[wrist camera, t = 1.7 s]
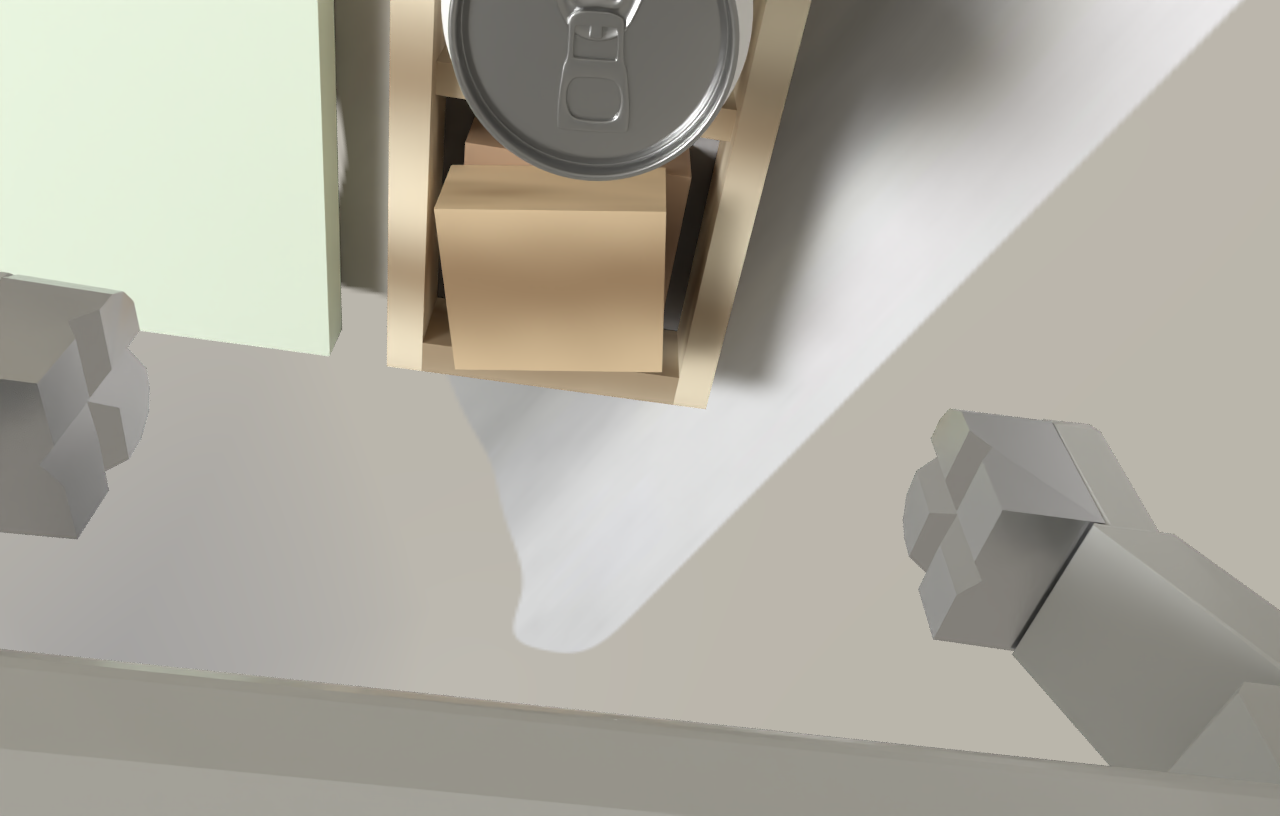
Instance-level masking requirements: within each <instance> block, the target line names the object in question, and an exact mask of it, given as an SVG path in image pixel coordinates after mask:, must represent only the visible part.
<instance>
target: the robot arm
mask: <svg viewBox="0 0 1280 816" xmlns="http://www.w3.org/2000/svg"><path fill="white" fill-rule="evenodd" d="M139 331H140V328H139V323H138V318H137V314H136V309H135V304H134V301H133V300H132V299H131V298H130V297H129V296H128V295H127V294H126V293H125V292H124V291H118V290H112V289H106V288H100V287H93V286H87V285H81V284H75V283H68V282H62V281H56V280H50V279H44V278H37V277H31V276H25V275H19V274H17V275H13V274H10V273H6V272H0V532H4V533H14V534H25V535H36V536H47V537H58V538H69V539H78V537H79V536H80V534H81V533H82V531H83V530H84V528H85V527H86V525H87V524H88V522H89V521H90V519H91V517H92V516H93V514H94V513H95V511H96V510H97V508H98V507H99V505H100V503H101V502H102V500H103V499H104V497H105V496H106V494H107V493H108V491H109V488H108V483H107V478H106V473H105V471H107V470H109V469H111V468H113V467H114V466H116V465H118V464H120V463H122V462H124V461H126V460H128V459H129V458H130V457H131V455H132V453H133V452H134V450H135V448H136V446H137V445H138V443H139V442H140V440H141V438H142V434H143V431H144V427H145V424H146V420H147V417H148V413H149V392H150V388H149V381H148V375H147V368H146V367H145V366H144V365H143V364H142V363H141V362H140V361H139V359H138V358H137V357H136V356H135V355H134V354H133V353H132V352H131V351H130V350H129V349H128V346H129V345H130V343H131V342H132V341H133V339H134V338H135V336H136V335H137V334H138V332H139ZM931 441H932V443H933V446H934V449H935V452H936V455H937V457H936V458H935V459H933V460H932V461H930V462H929V463H927V464H926V465H924V466H923V467H921V468H920V469H918V470H917V471H916V473H915V475H914V478H913V480H912V483H911V485H910V488H909V490H908V493H907V496H906V502H905V509H904V516H903V527H904V539H905V542H906V547H907V550H908V554H909V557H910V558H911V559H912V560H913V561H914V562H915V563H916V564H918V565H919V566H920V567H921V568H922V569H923V570H924V571H925V572H926V574H925V576H924V578H923V581H922V583H921V585H920V587H919V592H920V596H921V600H922V603H923V606H924V610H925V613H926V616H927V620H928V623H929V627H930V630H931V633H932V637H933V639H934V640H941V641H949V642H956V643H962V644H969V645H976V646H983V647H990V648H997V649H1004V650H1011V651H1014V652H1013V654H1012V655H1013V656H1014V657H1015V658H1016V659H1017V660H1018V662H1019V663H1020V664H1021V665H1022V666H1023V667H1024V668H1025V669H1026V671H1027V672H1028V673H1029V674H1030V675H1031V676H1032V678H1033V679H1034V680H1035V681H1036V682H1037V683H1038V684H1039V686H1040V687H1041V688H1042V689H1043V690H1044V691H1045V692H1046V694H1047V695H1048V696H1049V697H1050V698H1051V699H1052V700H1053V702H1054V703H1055V704H1056V705H1057V706H1058V707H1059V708H1060V710H1061V711H1062V712H1063V713H1064V714H1065V715H1066V716H1067V718H1068V719H1069V720H1070V721H1071V722H1072V723H1073V724H1074V725H1075V727H1076V728H1077V729H1078V730H1079V731H1080V732H1081V733H1082V735H1083V736H1084V737H1085V738H1086V739H1087V740H1088V742H1089V743H1090V744H1091V745H1092V746H1093V747H1094V748H1095V750H1096V751H1097V752H1098V753H1099V754H1100V755H1101V756H1102V757H1103V759H1104V760H1105V761H1106V762H1107V763H1108V764H1109V766H1104V765H1094V764H1085V763H1075V762H1065V761H1056V760H1047V759H1038V758H1028V757H1019V756H1010V755H1000V754H991V753H980V752H971V751H962V750H953V749H943V748H934V747H923V746H915V745H906V744H896V743H887V742H877V741H868V740H859V739H849V738H840V737H831V736H820V735H812V734H802V733H793V732H783V731H773V730H765V729H755V728H746V727H736V726H727V725H718V724H707V723H699V722H689V721H680V720H670V719H661V718H652V717H642V716H633V715H624V714H614V713H605V712H596V711H586V710H576V709H568V708H558V707H549V706H539V705H530V704H520V703H512V702H501V701H493V700H483V699H474V698H464V697H454V696H446V695H436V694H427V693H418V692H409V691H399V690H390V689H380V688H371V687H362V686H352V685H342V684H333V683H322V682H312V681H303V680H294V679H284V678H274V677H265V676H255V675H246V674H237V673H226V672H217V671H208V670H198V669H189V668H179V667H169V666H159V665H150V664H139V663H131V662H120V661H112V660H102V659H93V658H82V657H73V656H63V655H54V654H45V653H35V652H26V651H16V650H7V649H0V816H1280V610H1279V609H1277V608H1276V607H1274V606H1273V605H1272V604H1270V603H1269V602H1268V601H1266V600H1265V599H1263V598H1262V597H1261V596H1259V595H1258V594H1257V593H1255V592H1254V591H1252V590H1251V589H1250V588H1248V587H1247V586H1245V585H1244V584H1243V583H1241V582H1240V581H1238V580H1237V579H1236V578H1234V577H1233V576H1232V575H1230V574H1229V573H1227V572H1226V571H1225V570H1223V569H1222V568H1220V567H1219V566H1217V565H1216V564H1215V563H1213V562H1212V561H1211V560H1209V559H1208V558H1206V557H1205V556H1204V555H1202V554H1201V553H1200V552H1198V551H1197V550H1195V549H1194V548H1193V547H1191V546H1190V545H1188V544H1187V543H1186V542H1184V541H1183V540H1181V539H1180V538H1179V537H1177V536H1176V535H1175V534H1169V533H1163V532H1159V531H1158V529H1157V527H1156V525H1155V524H1154V522H1153V520H1152V519H1151V517H1150V515H1149V513H1148V512H1147V510H1146V508H1145V507H1144V505H1143V503H1142V502H1141V500H1140V498H1139V496H1138V495H1137V493H1136V491H1135V489H1134V488H1133V486H1132V484H1131V483H1130V481H1129V479H1128V477H1127V476H1126V474H1125V472H1124V471H1123V469H1122V467H1121V465H1120V464H1119V462H1118V460H1117V459H1116V457H1115V455H1114V453H1113V452H1112V450H1111V448H1110V447H1109V445H1108V443H1107V441H1106V440H1105V438H1104V436H1103V435H1102V433H1101V432H1100V431H1099V430H1097V429H1096V428H1094V427H1093V426H1092V425H1090V424H1082V423H1073V422H1063V421H1053V420H1036V419H1028V418H1020V417H1012V416H1004V415H996V414H988V413H981V412H973V411H965V410H956V409H949V410H948V411H947V412H946V413H945V414H944V416H943V417H942V418H941V419H940V420H939V422H938V424H937V427H936V429H935V431H934V433H933V435H932V437H931Z"/></svg>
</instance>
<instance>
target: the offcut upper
mask: <svg viewBox="0 0 1280 816" xmlns="http://www.w3.org/2000/svg"><path fill="white" fill-rule="evenodd" d="M434 213H435V221H436V228H437V236H438V243H439V251H440V259H441V266H442V274H443V281H444V289H445V297H446V304H447V312H448V319H449V327H450V334H451V342H452V350H453V357H454V365H455V369H460V370H531V371H602V372H662V356H663V317H664V278H665V239H666V168H661V167H659V168H656V169H654V170H652V171H649V172H647V173H644V174H641V175H637V176H634V177H630V178H625V179H619V180H610V181H586V180H577V179H571V178H567V177H562V176H559V175H555V174H552V173H549V172H547V171H544V170H542V169H539V168H537V167H535V166H502V165H451V167H450V170H449V172H448V175H447V177H446V180H445V182H444V185H443V187H442V190H441V192H440V195H439V197H438V200H437V202H436V205H435V207H434Z"/></svg>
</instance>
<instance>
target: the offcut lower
mask: <svg viewBox="0 0 1280 816" xmlns="http://www.w3.org/2000/svg"><path fill="white" fill-rule="evenodd" d="M464 165H502V166H533V165H531V164H529V163H527V162H525V161H524V160H522V159H520V158H519V157H517V156H516V155H514V154H513V153H512V152H510V151H509V150H508V149H506V148H505V147H504V146H503V145H501V144H500V143H499V142H498V141H497V140H496V139H495V138H494V137H493V136H492V135H491V134H490V133H489V132H488V131H487V130H486V128H485V127H484V126H483V125H482V124H481V122H480V121H479V120H478V118H477V117H476V116H475V117H474V120H473V123H472V125H471V128H470V131H469V134H468V136H467V139H466V142H465V155H464ZM661 168H666V239H665V278H664V307H665V302H666V297H667V292H668V288H669V283H670V278H671V273H672V269H673V264H674V259H675V254H676V250H677V245H678V240H679V235H680V230H681V226H682V221H683V216H684V211H685V207H686V202H687V197H688V192H689V188H690V183H691V178H692V177H691V165H690V152H689V148H688V149H687V150H686V151H684V152H683V153H682V154H680V155H679V156H678V157H676V158H675V159H673V160H671V161H670V162H668V163H666V164H664V165H662V166H661Z"/></svg>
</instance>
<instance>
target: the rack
mask: <svg viewBox="0 0 1280 816" xmlns="http://www.w3.org/2000/svg"><path fill="white" fill-rule="evenodd" d="M810 4H811V0H753V22H752V32H751V39H750V44H749V49H748V53H747V57H746V60H745V63H744V66H743V69H742V71H741V74H740V76H739V79H738V81H737V83H736V85H735V87H734V89H733V91H732V92H731V94H730V96H729V97H728V99H727V100H726V102H725V103H724V105H723V106H722V108H721V110H720V111H719V113H718V115H717V116H716V118H715V119H714V121H713V122H712V123H711V125H710V126H709V127H708V129H707V130H706V131H705V132H704V133H703V135H702V136H701V137H702V138H709V139H715V140H720V142H719V147H718V151H717V156H716V160H715V165H714V169H713V174H712V178H711V183H710V187H709V191H708V196H707V200H706V205H705V209H704V214H703V218H702V223H701V227H700V232H699V236H698V241H697V245H696V250H695V254H694V259H693V263H692V268H691V272H690V277H689V281H688V286H687V290H686V295H685V299H684V304H683V308H682V313H681V317H680V322H679V326H678V331H671V330H664V329H663V356H662V372H602V371H531V370H460V369H455V365H454V357H453V350H452V342H451V334H450V327H449V319H448V312H447V304H446V299H445V298H438V297H437V291H438V268H439V243H438V236H437V228H436V221H435V213H434V207H435V205H436V202H437V200H438V197H439V195H440V192H441V190H442V178H443V156H444V133H445V111H446V96H448V97H454V98H460V99H465V97H464V95H463V93H462V91H461V88H460V86H459V83H458V81H457V78H456V75H455V72H454V68H453V65H452V61H451V58H450V55H449V52H448V48H447V45H446V41H445V36H444V31H443V24H442V14H441V0H390V78H389V193H388V307H387V309H388V311H387V313H388V314H387V366H389V367H397V368H405V369H412V370H419V371H426V372H434V373H441V374H449V375H456V376H464V377H471V378H478V379H486V380H493V381H501V382H508V383H516V384H523V385H530V386H538V387H545V388H553V389H560V390H567V391H575V392H582V393H590V394H597V395H605V396H612V397H619V398H627V399H634V400H642V401H649V402H657V403H664V404H671V405H679V406H686V407H694V408H701V409H706V406H707V402H708V398H709V395H710V391H711V387H712V383H713V379H714V375H715V371H716V368H717V364H718V360H719V356H720V352H721V348H722V344H723V340H724V337H725V333H726V329H727V325H728V321H729V317H730V313H731V310H732V306H733V302H734V298H735V294H736V290H737V286H738V282H739V279H740V275H741V271H742V267H743V263H744V259H745V255H746V252H747V248H748V244H749V240H750V236H751V232H752V228H753V225H754V221H755V217H756V213H757V209H758V205H759V201H760V197H761V194H762V190H763V186H764V182H765V178H766V174H767V170H768V167H769V163H770V159H771V155H772V151H773V147H774V143H775V139H776V136H777V132H778V128H779V124H780V120H781V116H782V112H783V109H784V105H785V101H786V97H787V93H788V89H789V85H790V81H791V78H792V74H793V70H794V66H795V62H796V58H797V54H798V51H799V47H800V43H801V39H802V35H803V31H804V27H805V24H806V20H807V16H808V12H809V8H810Z"/></svg>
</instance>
